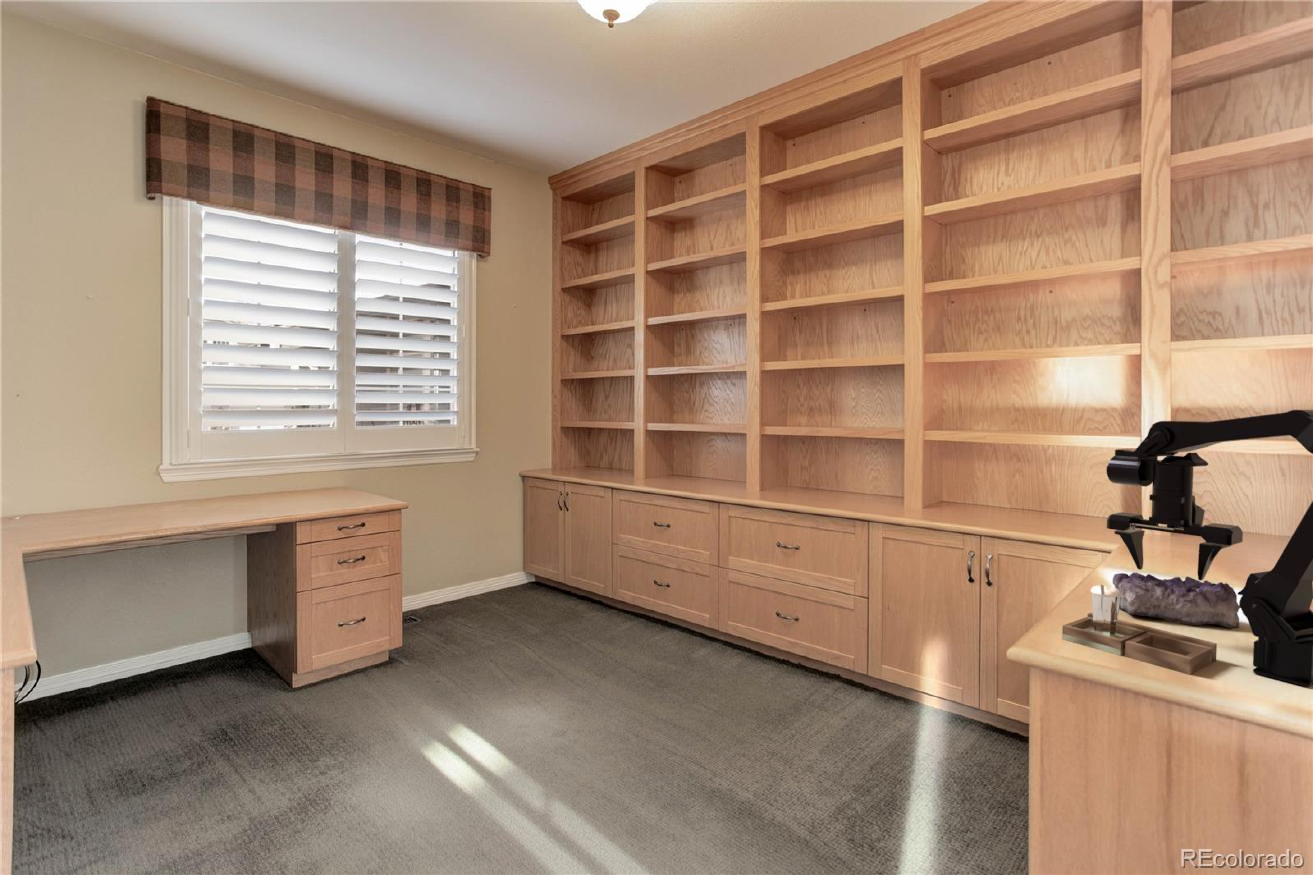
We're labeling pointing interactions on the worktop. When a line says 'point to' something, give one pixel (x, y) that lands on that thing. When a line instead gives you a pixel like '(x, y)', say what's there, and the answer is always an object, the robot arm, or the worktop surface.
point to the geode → (1178, 599)
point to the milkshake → (1105, 609)
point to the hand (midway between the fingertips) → (1169, 574)
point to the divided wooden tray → (1145, 644)
